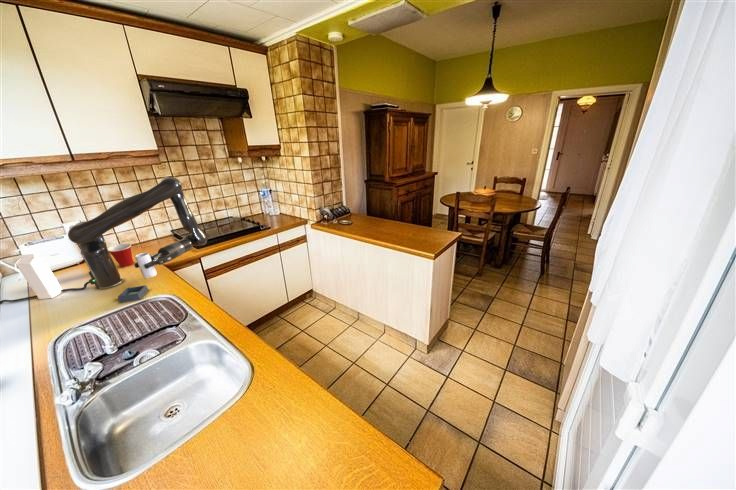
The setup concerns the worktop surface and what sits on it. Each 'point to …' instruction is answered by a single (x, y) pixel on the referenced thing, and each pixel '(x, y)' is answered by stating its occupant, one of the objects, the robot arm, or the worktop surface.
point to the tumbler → (142, 260)
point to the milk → (39, 276)
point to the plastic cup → (122, 254)
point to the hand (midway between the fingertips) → (140, 266)
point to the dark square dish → (133, 293)
